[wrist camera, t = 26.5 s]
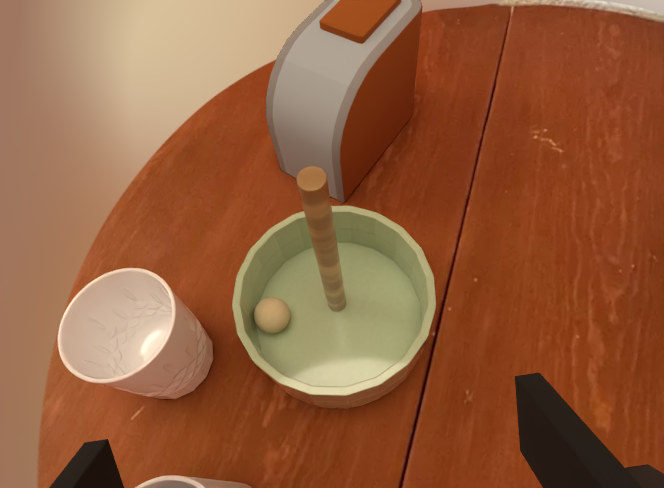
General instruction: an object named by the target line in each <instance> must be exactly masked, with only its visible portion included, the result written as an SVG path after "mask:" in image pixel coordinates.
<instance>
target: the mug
mask: <svg viewBox="0 0 664 488" xmlns="http://www.w3.org/2000/svg"><path fill="white" fill-rule="evenodd" d="M135 488H252V487H251V486H249V485H246V484H243V483H238V482H231V481H221V480H212V479H204V478H195V477H183V476H176V475H169V476H161V477H157V478H154V479H151V480H148V481H146V482H144V483H142V484H140V485H139V486H137V487H135Z"/></svg>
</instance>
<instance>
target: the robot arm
mask: <svg viewBox="0 0 664 488" xmlns="http://www.w3.org/2000/svg"><path fill="white" fill-rule="evenodd" d="M515 384H516V398H517V411H518V425H519V439H520V451H521V453H522V454H523V456H524V457H525V459H526V461H527V462H528V464H529V466H530V467H531V469H532V470H533V472H534V474H535V475H536V477H537V479H538V480H539V482H540V483H541V485H542V487H543V488H664V474H663V473H661V472H660V471H658V470H656V469H655V468H653V467H651V466H650V465H648V464H647V465H641V466H634V467H627V468H624V467H623V466H622V464H621V463H620V462H619V461H618V460H617V459H616V458H615V457H614V455H613V454H612V453H611V452H610V451H609V450H608V449H607V448H606V447H605V445H604V444H603V443H602V442H601V441H600V440H599V439H598V438H597V437H596V435H595V434H594V433H593V432H592V431H591V430H590V429H589V428H588V426H587V425H586V424H585V423H584V422H583V421H582V420H581V419H580V418H579V416H578V415H577V414H576V413H575V412H574V411H573V410H572V409H571V407H570V406H569V405H568V404H567V403H566V402H565V401H564V400H563V399H562V397H561V396H560V395H559V394H558V393H557V392H556V391H555V390H554V388H553V387H552V386H551V385H550V384H549V383H548V382H547V381H546V380H545V378H544V377H543V376H542V375H541V374H540V373H534V374H527V375H521V376H515ZM50 488H124V486H123V483H122V480H121V477H120V474H119V471H118V468H117V465H116V462H115V459H114V456H113V453H112V450H111V447H110V444H109V441H108V439H106V440H99V441H93V442H86V443H84V444H83V446H82V447H81V448H80V449H79V451H78V452H77V453H76V454H75V456H74V457H73V458H72V460H71V461H70V462H69V463H68V465H67V466H66V467H65V469H64V470H63V471H62V472H61V474H60V475H59V476H58V478H57V479H56V480H55V481H54V483H53V484H52V485H51V487H50Z"/></svg>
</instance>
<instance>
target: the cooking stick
mask: <svg viewBox="0 0 664 488" xmlns="http://www.w3.org/2000/svg"><path fill="white" fill-rule="evenodd" d="M296 182H297V186H298V190H299V194H300V198H301V202H302V206H303V210H304V213H305V217H306V221H307V225H308V229H309V233H310V237H311V241H312V244H313V248H314V252H315V256H316V260H317V264H318V268H319V272H320V276H321V279H322V283H323V287H324V291H325V295H326V299H327V303H328V306H329V308H330V309H331V310H332V311H335V312H339V311H342V310H343V309H344V308H345V306H346V297H345V291H344V284H343V278H342V271H341V265H340V258H339V252H338V245H337V239H336V233H335V226H334V220H333V213H332V207H331V200H330V194H329V187H328V181H327V175H326V173H325V172H324V171H323V170H322V169H321V168H319V167H315V166H311V167H306V168H304V169H303V170H301V171H300V172H299V174H298V175H297V178H296Z"/></svg>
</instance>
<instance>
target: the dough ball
mask: <svg viewBox="0 0 664 488" xmlns="http://www.w3.org/2000/svg"><path fill="white" fill-rule="evenodd" d="M254 320H255V323H256V325H257V326H258V328H259V329H260V330H262V331H264V332H266V333H278V332H280V331H282V330H283V329H284V328H285V327H286V326H287V324H288V323H289V320H290V310H289V307H288V305H287V304H286V303H285V302H284V301H283V300H281V299H280V298H276V297H269V298H265V299H263V300H262V301H260V302H259V304H258V305H257V306H256V308H255V311H254Z"/></svg>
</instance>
